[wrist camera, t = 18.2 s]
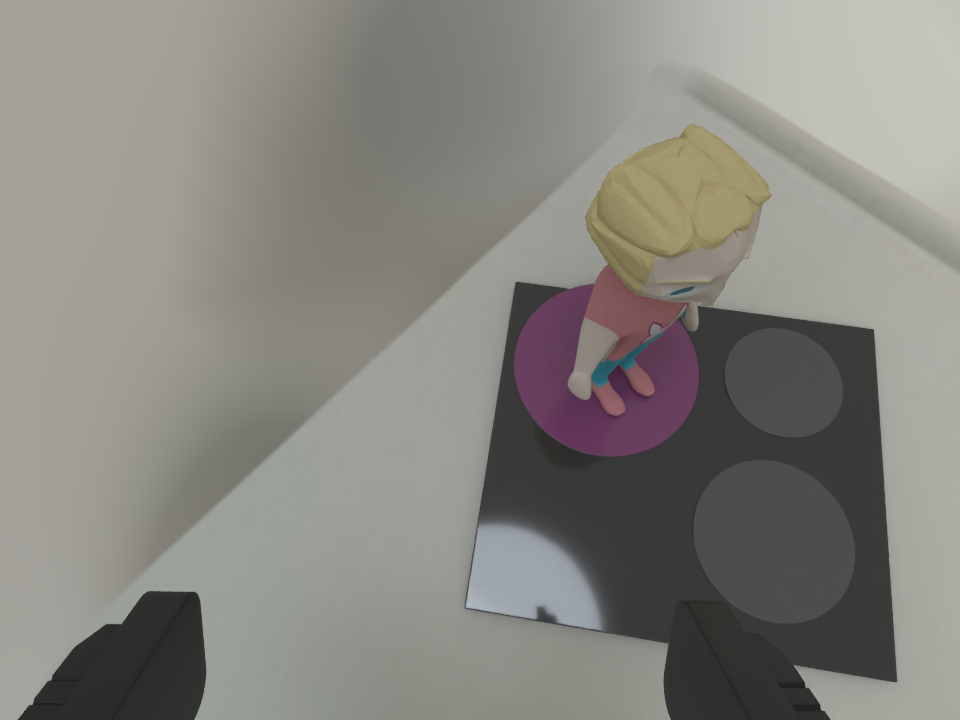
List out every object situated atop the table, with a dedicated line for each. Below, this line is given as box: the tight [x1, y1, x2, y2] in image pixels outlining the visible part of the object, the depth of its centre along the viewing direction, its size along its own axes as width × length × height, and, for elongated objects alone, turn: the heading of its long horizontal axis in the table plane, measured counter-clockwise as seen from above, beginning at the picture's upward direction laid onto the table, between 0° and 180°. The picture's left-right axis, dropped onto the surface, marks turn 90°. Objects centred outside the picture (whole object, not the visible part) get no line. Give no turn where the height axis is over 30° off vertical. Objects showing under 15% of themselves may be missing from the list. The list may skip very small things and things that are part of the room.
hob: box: [465, 282, 897, 682], centre depth 30 cm, size 18×16×1 cm
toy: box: [568, 124, 771, 416], centre depth 24 cm, size 7×5×15 cm
